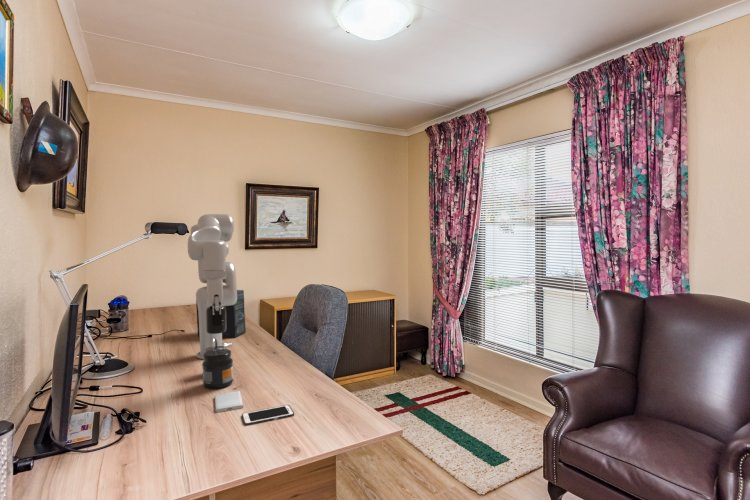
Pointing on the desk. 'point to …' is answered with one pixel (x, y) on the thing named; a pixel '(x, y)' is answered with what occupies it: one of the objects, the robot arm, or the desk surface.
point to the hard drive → (228, 401)
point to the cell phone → (267, 414)
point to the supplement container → (217, 368)
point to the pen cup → (214, 346)
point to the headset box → (233, 317)
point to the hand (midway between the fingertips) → (216, 323)
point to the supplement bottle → (209, 326)
